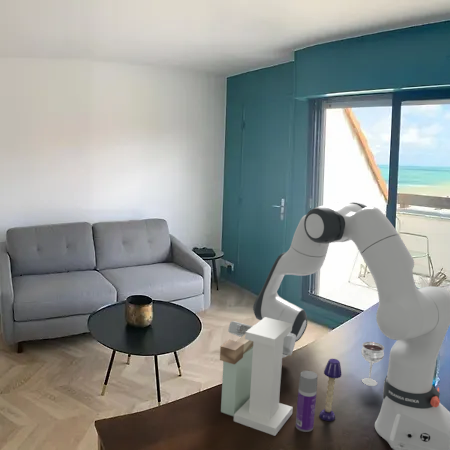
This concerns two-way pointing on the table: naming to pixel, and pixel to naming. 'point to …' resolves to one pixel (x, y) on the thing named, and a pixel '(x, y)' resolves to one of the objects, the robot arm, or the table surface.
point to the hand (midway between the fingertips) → (252, 330)
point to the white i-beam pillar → (266, 378)
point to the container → (306, 401)
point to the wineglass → (372, 358)
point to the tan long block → (234, 350)
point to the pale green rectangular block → (236, 383)
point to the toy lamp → (330, 388)
